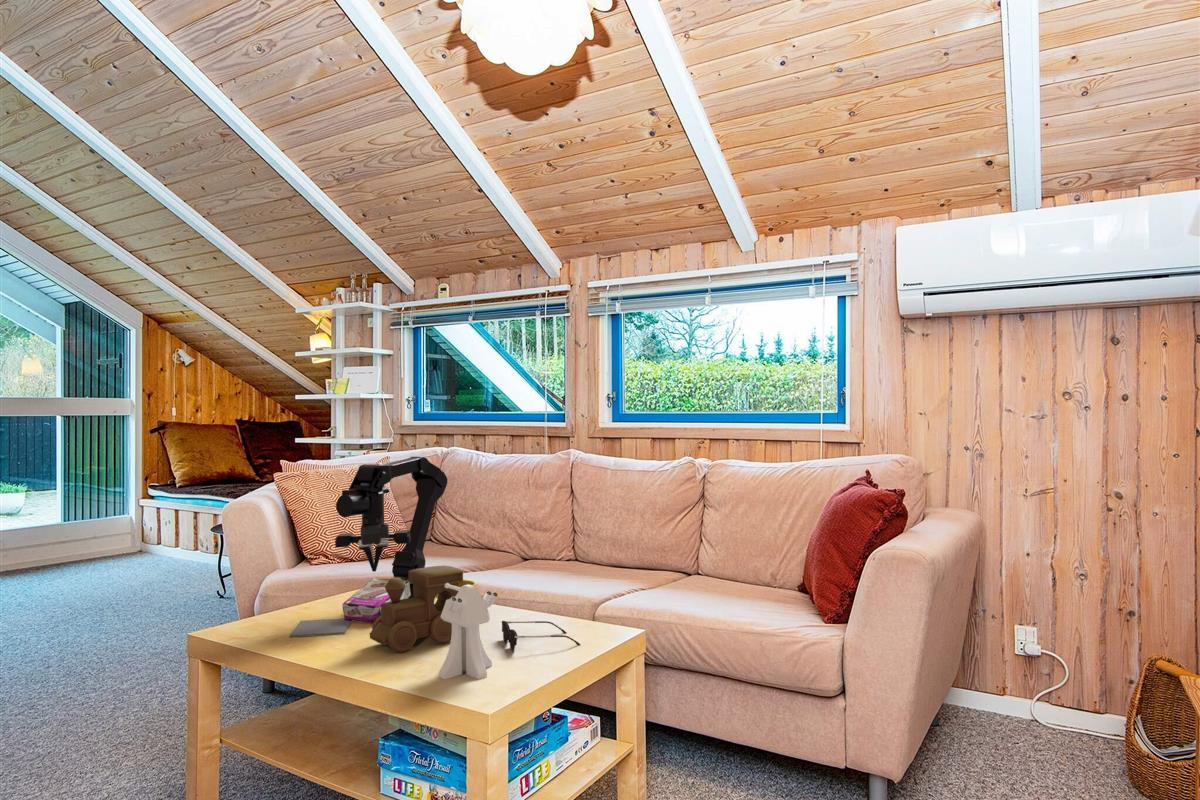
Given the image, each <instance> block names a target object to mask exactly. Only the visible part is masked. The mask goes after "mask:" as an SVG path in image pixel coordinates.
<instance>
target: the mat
mask: <svg viewBox="0 0 1200 800" xmlns="http://www.w3.org/2000/svg"><path fill="white" fill-rule="evenodd" d="M352 622H353V621H349V620H344V617H342V618H327V619H326V618H325V619H323V618H322V619H307V620H306V619H305V620H300V621H299V622H298V623H297V625H296V626H295V627H294V629H293V630H292V631H291V632H290V633H289V634H288V636H289V638H301V637H302V638H303V637H314V636H315V637H317V636H333V635H345V634H346V633H347V631H348V629H349V627H350V625H351V623H352Z"/></svg>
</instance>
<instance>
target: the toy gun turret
mask: <svg viewBox="0 0 1200 800" xmlns="http://www.w3.org/2000/svg"><path fill="white" fill-rule="evenodd" d="M445 588H450V589H454V590H457V591H459V592H458V593H457V595H456V596H455V597H451V599H448V600H446V602H445V605H444V608H443V611H442V614H441V617H440V618H442V619H443V620H444V621H446V622H449V623H452V635H451V640H450V644H449V647H448V651H447V654H446V658H445V660H444V662H443V663H442V666H441V667H440V669H439V671H438V678H440V679H442V680H446V679H451V678H454V677H457V676H460V675H465V676H466V675H467V676H470V677H472V678H474V679H477V680H481V679H484V678H488V671H487V668H490V667H493V661H492V659H491V657H490V656H489V654H488V653H487V652H486V650H485V647H484V644H483V642H482V639H481V632H480V631H481V630H480V625H482V624H486V623H489V621H490V620H491V619H492V618H491V614H490V612H489V609H488V608H490V607H492V606H493V605H494V603H495V602H496V600H497V598H498V596H499V594H498V593H497V592H496V591H493V592H492V591H490V590H487V591H486V592H485V594H484V595H483V597H482V596H481V594H480V593H479V589H478V588H477V586H476V587H474V586H473V585H469V584H468V585H463V586H462V587H456V586H453V585H450V584H449V583H446V584H445Z"/></svg>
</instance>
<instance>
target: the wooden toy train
mask: <svg viewBox="0 0 1200 800" xmlns="http://www.w3.org/2000/svg"><path fill="white" fill-rule="evenodd" d="M388 579H389V581H388V583H387V584H386V586H385V589H386V591H387V593H388V595H389V597H390V599H391V601H390V602H386V603H382V604H381V616H380V617H379V618H377V619H376V621H375V622H374V623H372V628H371V631H370V632H369V639H371V640H373V641H374V642H377V643H378V644H380V645H382V646H385V645H388V646H389V647H390V649H391V650H392V651H394V652H396V653H405V652H407V651H410V649H411V648H413V646H414V645H415V644H416V641H417V639H419V638H421V639H422V638H425V637H429V636H430V638H431V639H432V640H433V641H434V642H435V643H437V644H440V645H441V644H442V645H443V644H446V643H449V642H451V635H452V623H449V622H446V621H444V620H443V619H442V618H440V617H441V614H442V611H443V608H444V605H445V602H446V600H448V599H451V597H455V596H456V595H457V593H458V592H459V591H457V590H454V589H450V588H445V584H446V583H449V584H450V585H453V586H456V587H459V583H460V582H463V580H464V571H463V570H462V569H460V568H458V567H455V566H451V565H435V566H433V565H432V566H427V567H426V566H425V568H419V569H414V570H410V571H409V582H412V583H413V595H414V598H407V599H401V600H400V598H401V596H402V594H403V591H404V589H405V587H406V585H405V584H404V583H403V581H402V580H401V578H394V577H391V578H388ZM437 594H438V599H437V598H436V596H437ZM435 600H436V601H435Z"/></svg>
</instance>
